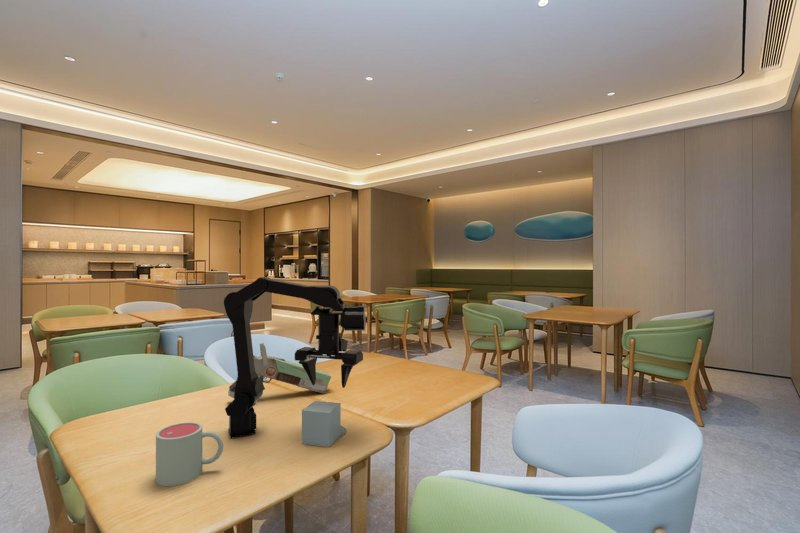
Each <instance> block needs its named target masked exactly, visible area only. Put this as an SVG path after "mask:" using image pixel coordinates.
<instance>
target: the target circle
mask: <svg viewBox="0 0 800 533" xmlns="http://www.w3.org/2000/svg"><path fill="white" fill-rule="evenodd" d="M346 434H347V428H346V427H345V426H342V425H341V434H340V435H339V436H338V437H337V439H340V438H342V437H343V435H344V436H345V435H346ZM339 437H340V438H339Z"/></svg>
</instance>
